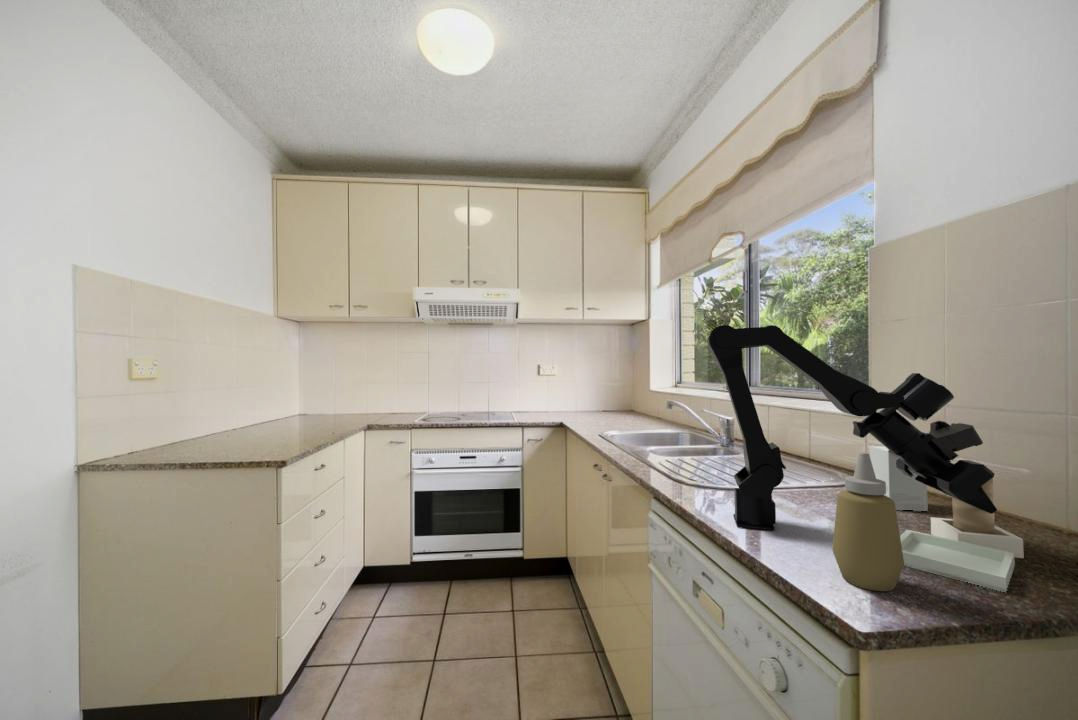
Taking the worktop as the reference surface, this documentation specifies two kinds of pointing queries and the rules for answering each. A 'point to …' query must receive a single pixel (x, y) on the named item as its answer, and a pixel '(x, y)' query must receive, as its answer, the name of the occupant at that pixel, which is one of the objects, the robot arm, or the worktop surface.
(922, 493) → the supplement box
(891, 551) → the squeeze bottle
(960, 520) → the maple dowel
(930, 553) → the sage tray
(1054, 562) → the worktop surface
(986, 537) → the socket block
